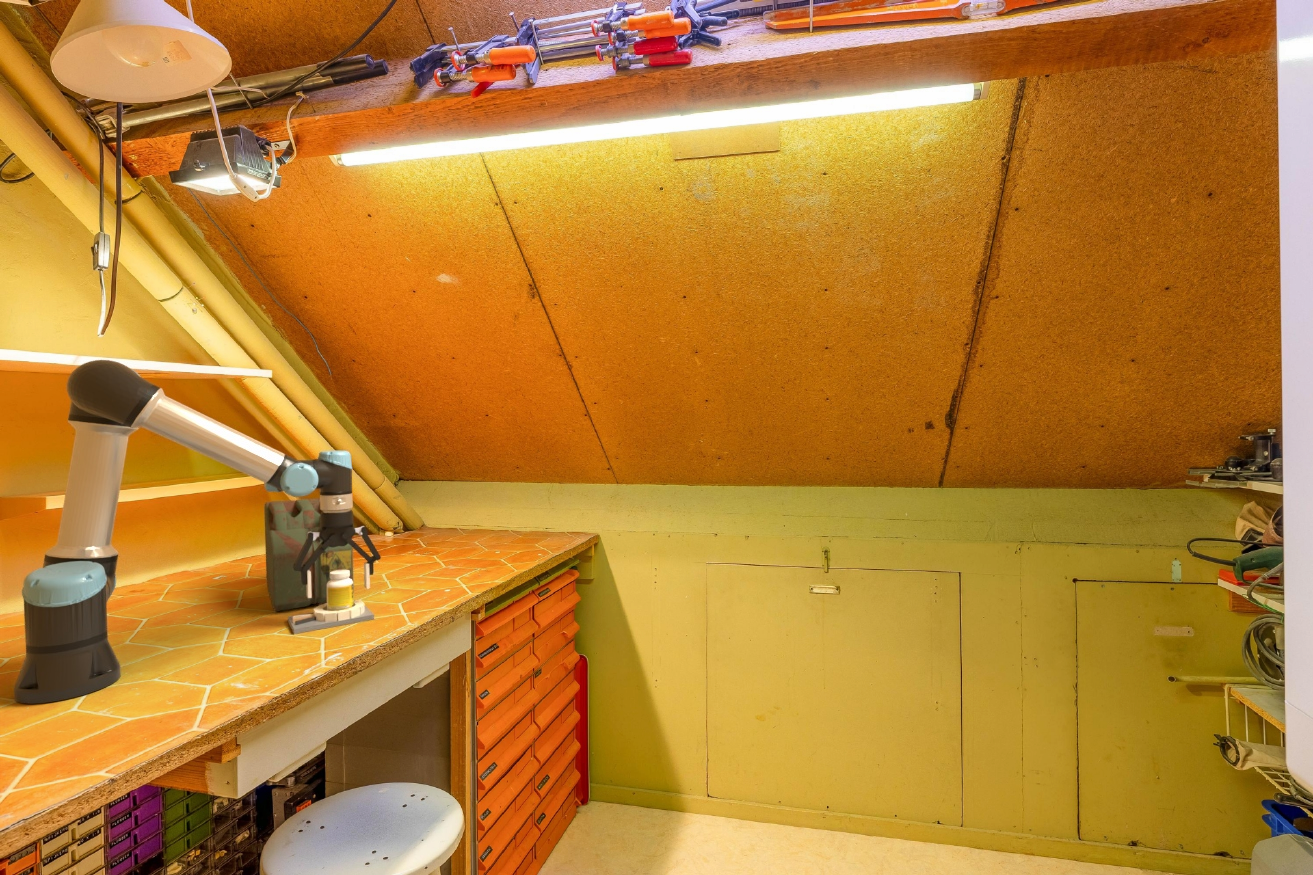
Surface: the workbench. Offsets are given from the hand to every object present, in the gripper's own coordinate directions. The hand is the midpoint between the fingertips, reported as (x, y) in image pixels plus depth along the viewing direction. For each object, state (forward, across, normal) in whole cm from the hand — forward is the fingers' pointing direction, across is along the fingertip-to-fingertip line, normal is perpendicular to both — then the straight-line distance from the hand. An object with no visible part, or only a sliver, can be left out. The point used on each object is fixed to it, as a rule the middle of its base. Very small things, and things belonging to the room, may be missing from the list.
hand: (338, 592), depth 163 cm
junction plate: (+7, -2, 0) cm, 7 cm away
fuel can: (+7, -3, +31) cm, 32 cm away
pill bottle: (+6, 0, 0) cm, 6 cm away
